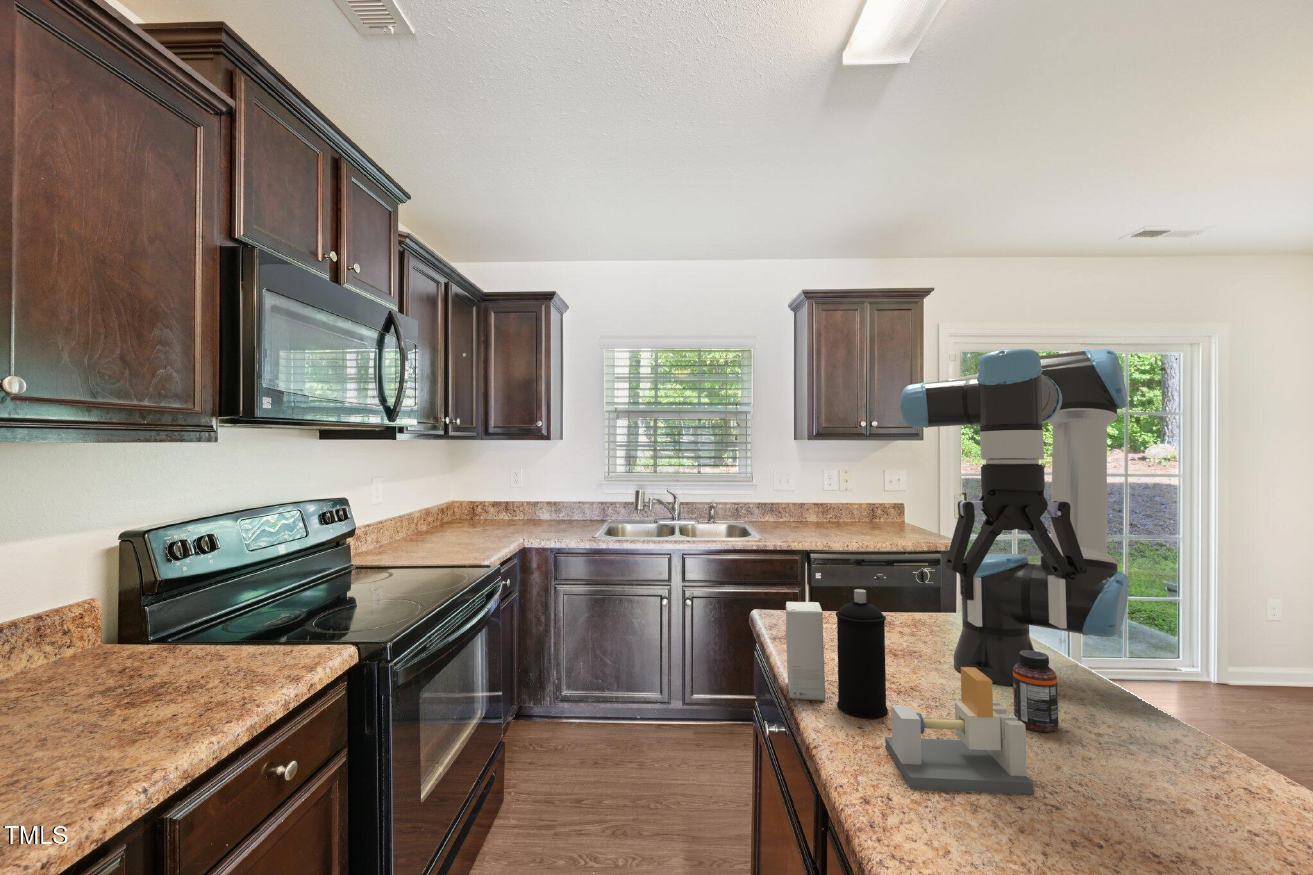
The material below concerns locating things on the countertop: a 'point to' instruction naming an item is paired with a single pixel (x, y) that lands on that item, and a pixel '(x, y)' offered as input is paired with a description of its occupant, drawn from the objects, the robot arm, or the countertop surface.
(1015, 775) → the cord board
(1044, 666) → the supplement bottle
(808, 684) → the skincare box
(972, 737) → the sleeve
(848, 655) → the aerosol can
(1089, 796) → the countertop surface
